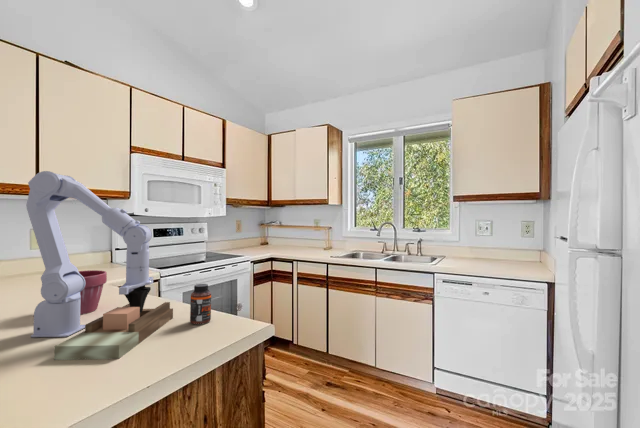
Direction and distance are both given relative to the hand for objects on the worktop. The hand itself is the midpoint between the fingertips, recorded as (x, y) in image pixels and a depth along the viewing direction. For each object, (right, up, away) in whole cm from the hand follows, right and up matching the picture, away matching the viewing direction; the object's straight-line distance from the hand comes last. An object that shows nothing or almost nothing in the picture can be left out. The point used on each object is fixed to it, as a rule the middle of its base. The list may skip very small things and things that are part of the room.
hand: (137, 313), depth 88 cm
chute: (0, -4, -6) cm, 7 cm away
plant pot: (-28, -4, +14) cm, 31 cm away
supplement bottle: (+17, -4, +5) cm, 18 cm away
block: (0, -1, -7) cm, 7 cm away
